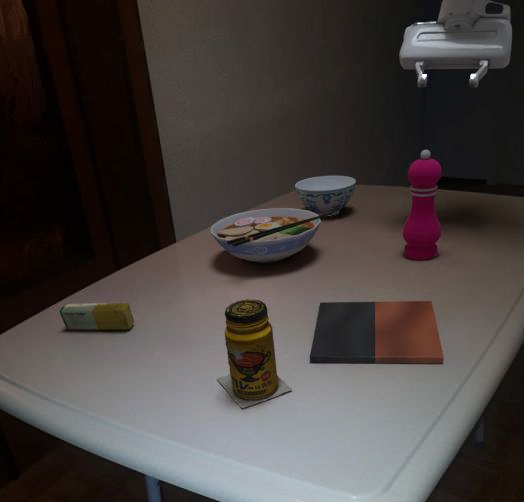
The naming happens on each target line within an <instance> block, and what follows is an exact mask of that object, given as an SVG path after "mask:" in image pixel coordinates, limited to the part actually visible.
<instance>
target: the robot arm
mask: <svg viewBox="0 0 524 502" xmlns="http://www.w3.org/2000/svg"><path fill="white" fill-rule="evenodd" d="M511 15H512V13H511V7H510V5H508V4H505V3H500V2H497V1H492V0H442V1H441V6H440V9H439V14H438V16H437V17H438V18H437V21H435V20H434V21H426V22H423V21H417V22H416V21H415V22H413V24H411V25H409V26H407V27H406V28H405V31H404V34H403V42H402V45H401V47H400V49H399V55H398V56H399V57H398V58H399V65H400V66H401V67H402V69H403V70H415V74H416V76H417V83H416V84H417V88H426V87H427V84H428V74H426V73H424V71H425V70H476V69H477V71H476V72H475V73H470V77H469V80H468V88H469V89H471V88H473V89H474V88H475V89H476V88H478V86H479V82H480V81H481V79H482V78H484V76H485V75H486V74H487V73H488V69H489V70H491V69H494V70H495V69H498V70H499V69H505V68H506V67H507V66H508V65H510V61H511V53H512V43H513V26H512V23H511Z"/></svg>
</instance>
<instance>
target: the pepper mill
mask: <svg viewBox="0 0 524 502" xmlns="http://www.w3.org/2000/svg"><path fill="white" fill-rule="evenodd" d="M431 155H432V154H431V151H430V150H429V149H424V150H422V151H421V152H420V158H418V159H417V160H415V161H413V162H412V163H411V164H410V166H409V168H408V171H407V180H408V181H409V183H410V184H411V185H410V187H409V189H410V191H409V194H410V195H411V207H410V208H411V209H410V213H409V215H408V217H407V219H406V220H405V223H404V226H403V229H402V238H403V240H404V242H405V243H406V244H405V245H404V256H405V257H406V258H408V259H410V260H416V261H426V260H431V259H434V258H435V257H436V256H437V255H438V244H436V243H437V242H438V241H439V240H440V238H441V236H442V228H441V223H440V221H439V218H438V215H437V212H436V207H435V198H436V195H437V194H438V188H439V185H437V183H438V182H439V181H440V179H441V178H442V167H441V164H440V163H439V162H438V161H437V160H436V159H435V158H431Z"/></svg>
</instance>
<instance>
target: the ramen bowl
mask: <svg viewBox="0 0 524 502" xmlns="http://www.w3.org/2000/svg"><path fill="white" fill-rule="evenodd" d="M331 214H333V213H328V215H331ZM324 215H325V216H328V215H327V214H324ZM324 215H320V216H319V215H317V214H315V213H313V211H311V210H307V209H301V208H300V209H299V208H295V207H271V208H270V207H269V208H261V209H253V210H248V211H243V212H238V213H234V214H232V215H229V216H226V217H224V218H221V219H219V220H217V221H216V222H215V223H213V224H212V225H211V227H210V234H211V235H212V237H213V239H214V240H215V241H216V242H217V243H218V244H219V246H220V247H222V249H224V250H225V251H226V252H228V253H229V254H230V255H231V256H233V257H235V258H238V259H240V260H244V261H249V262H253V263H257V264H273V263H277V262H280V261H283V260H284V259H286V258H288V257H291V256H293V255H296V254H297V253H299V252H300V251H302V250H303V249H304V248H305V247H306V246H307V245H308V244H309V243H310V242H311V241H312V239H313V238H314V237H315V235H316V233H317V231H318V230H319V227H320V225H321V223H322V220H321V218H326V217H325V216H324Z"/></svg>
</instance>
